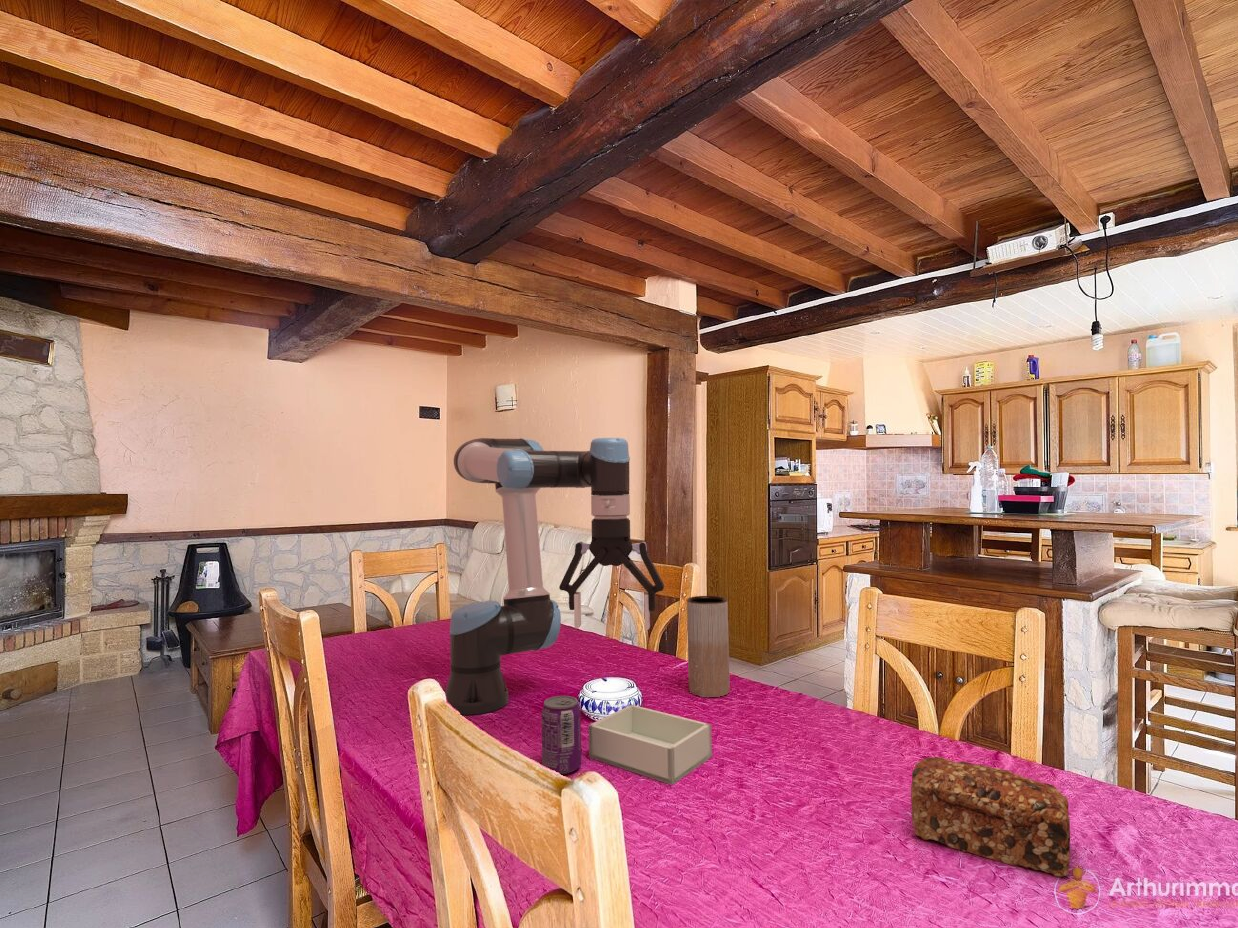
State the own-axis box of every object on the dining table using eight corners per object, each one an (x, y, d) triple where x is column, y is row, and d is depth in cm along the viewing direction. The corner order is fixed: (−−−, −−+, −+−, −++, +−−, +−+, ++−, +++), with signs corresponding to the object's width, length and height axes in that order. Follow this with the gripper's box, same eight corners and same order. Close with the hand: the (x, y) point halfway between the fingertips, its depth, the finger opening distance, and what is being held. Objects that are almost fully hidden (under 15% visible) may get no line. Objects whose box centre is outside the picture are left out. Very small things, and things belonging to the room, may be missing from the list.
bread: (910, 840, 88) (907, 768, 88) (922, 807, 97) (920, 742, 97) (1072, 885, 78) (1069, 804, 78) (1069, 844, 86) (1066, 771, 87)
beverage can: (587, 762, 115) (586, 696, 115) (572, 779, 108) (571, 709, 109) (552, 757, 117) (551, 693, 118) (535, 774, 110) (534, 705, 111)
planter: (711, 701, 146) (709, 604, 147) (680, 691, 153) (678, 599, 154) (738, 691, 153) (735, 598, 153) (707, 682, 160) (704, 594, 161)
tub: (589, 757, 117) (588, 725, 117) (632, 734, 127) (631, 704, 128) (672, 784, 105) (671, 749, 106) (711, 756, 116) (711, 724, 116)
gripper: (543, 518, 119) (544, 630, 118) (674, 517, 115) (676, 632, 114) (552, 516, 126) (554, 622, 125) (675, 515, 123) (677, 623, 122)
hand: (612, 627), depth 120 cm, fingers open, 13 cm apart
